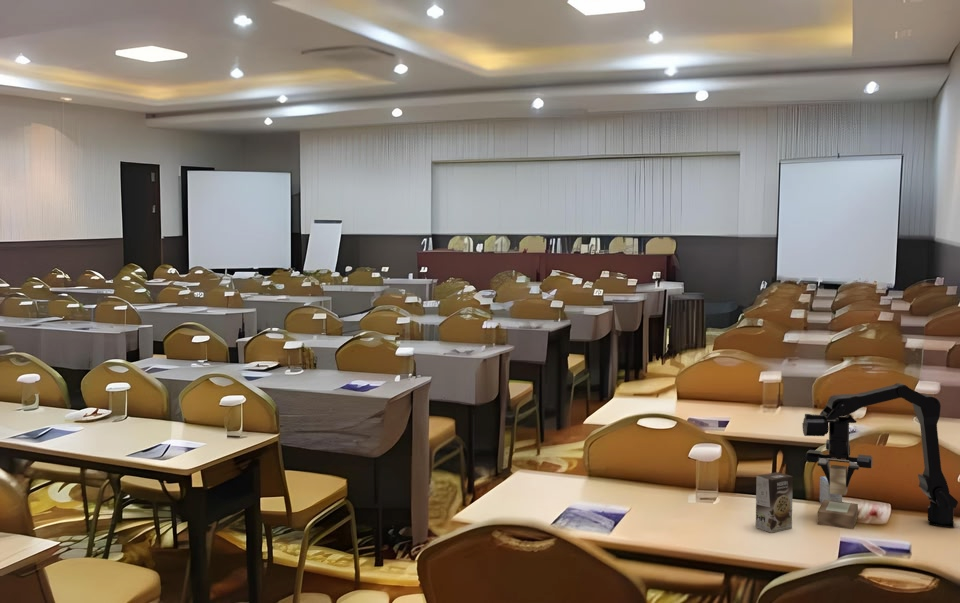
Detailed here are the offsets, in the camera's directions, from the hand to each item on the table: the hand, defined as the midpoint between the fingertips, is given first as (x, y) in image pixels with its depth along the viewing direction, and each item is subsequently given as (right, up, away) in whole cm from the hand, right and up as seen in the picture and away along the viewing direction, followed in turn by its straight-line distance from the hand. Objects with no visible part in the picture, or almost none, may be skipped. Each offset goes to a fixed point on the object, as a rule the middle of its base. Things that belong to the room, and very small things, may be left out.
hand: (838, 486), depth 254 cm
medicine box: (+5, -10, +16) cm, 20 cm away
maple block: (0, -2, 0) cm, 2 cm away
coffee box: (-22, -12, -6) cm, 26 cm away
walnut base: (0, -11, +1) cm, 11 cm away
